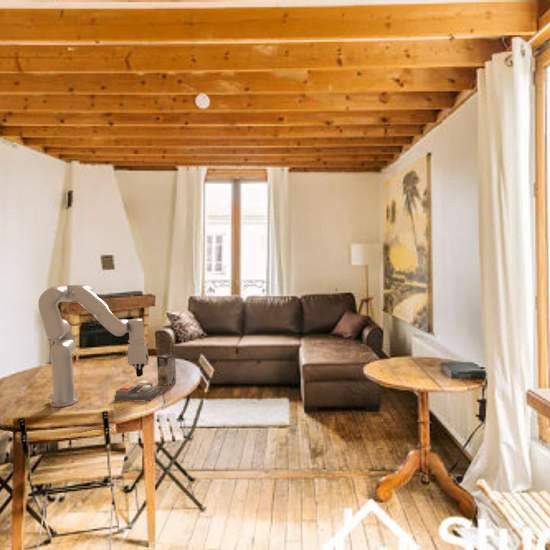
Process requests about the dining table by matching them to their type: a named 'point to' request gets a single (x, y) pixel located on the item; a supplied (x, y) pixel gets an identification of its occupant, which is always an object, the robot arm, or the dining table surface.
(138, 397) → the button panel
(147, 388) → the button sage
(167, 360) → the coffee box
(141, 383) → the button cream
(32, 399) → the dining table surface
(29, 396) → the dining table surface
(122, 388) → the button red
